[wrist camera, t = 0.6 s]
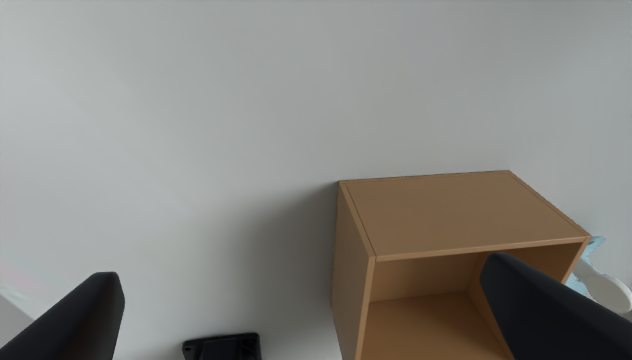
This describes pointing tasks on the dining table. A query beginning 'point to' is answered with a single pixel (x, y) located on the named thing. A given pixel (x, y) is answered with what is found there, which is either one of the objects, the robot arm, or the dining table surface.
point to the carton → (437, 261)
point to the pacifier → (599, 282)
